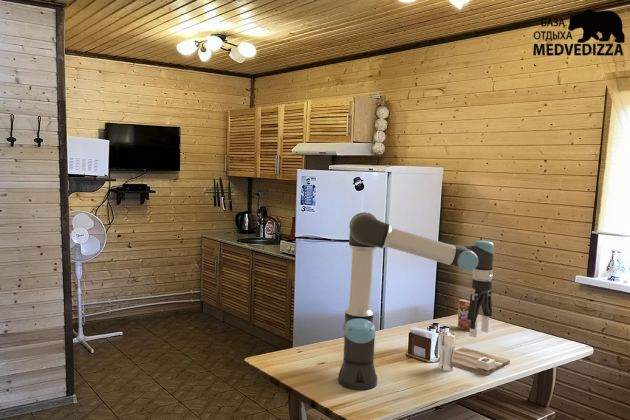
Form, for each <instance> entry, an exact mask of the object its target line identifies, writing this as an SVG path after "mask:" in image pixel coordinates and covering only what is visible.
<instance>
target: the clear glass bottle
mask: <svg viewBox="0 0 630 420" xmlns="http://www.w3.org/2000/svg"><path fill="white" fill-rule="evenodd" d="M456 340H457V339H456V333H454V332H451V331H440V332H439V335H438V343H437V344H438V346H437V347H438V354H439V356H438V358H439V357H440V360H439V361H438V364H437V365H438V367H437V368H438V370H441V371H443V372H452V371H453V370H454V368H453V365H452V360H453V355H454V351H455V350H456V343H457V342H456Z"/></svg>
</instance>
